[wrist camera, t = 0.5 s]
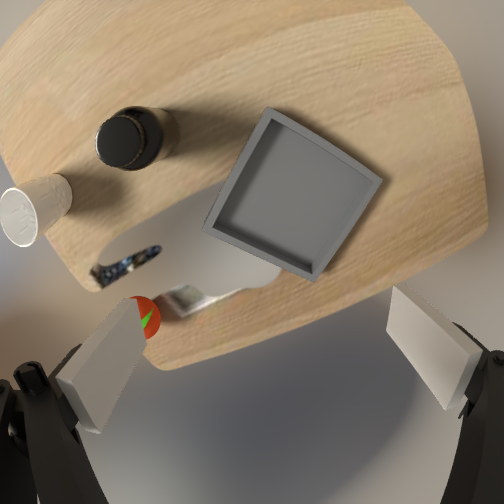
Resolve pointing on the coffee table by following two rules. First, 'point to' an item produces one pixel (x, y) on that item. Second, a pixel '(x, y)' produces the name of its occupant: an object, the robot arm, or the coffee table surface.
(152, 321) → the clementine
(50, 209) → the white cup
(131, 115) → the supplement bottle
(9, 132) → the coffee table surface
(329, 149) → the tray
